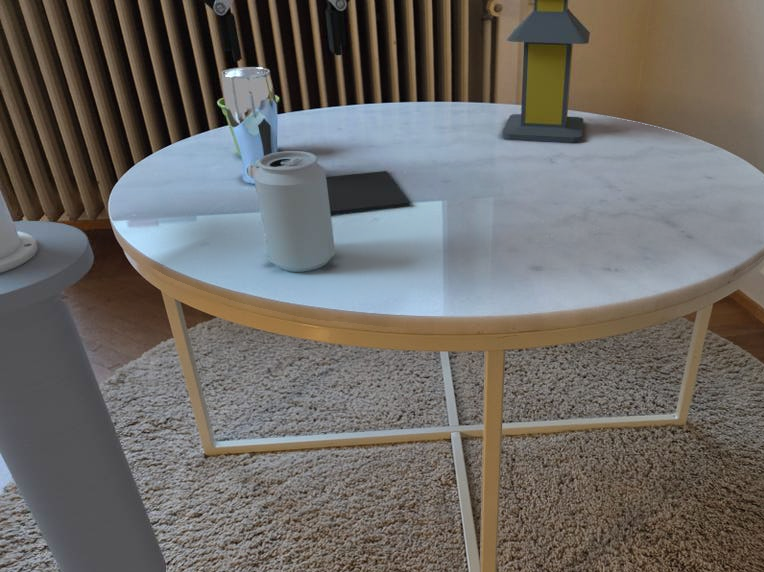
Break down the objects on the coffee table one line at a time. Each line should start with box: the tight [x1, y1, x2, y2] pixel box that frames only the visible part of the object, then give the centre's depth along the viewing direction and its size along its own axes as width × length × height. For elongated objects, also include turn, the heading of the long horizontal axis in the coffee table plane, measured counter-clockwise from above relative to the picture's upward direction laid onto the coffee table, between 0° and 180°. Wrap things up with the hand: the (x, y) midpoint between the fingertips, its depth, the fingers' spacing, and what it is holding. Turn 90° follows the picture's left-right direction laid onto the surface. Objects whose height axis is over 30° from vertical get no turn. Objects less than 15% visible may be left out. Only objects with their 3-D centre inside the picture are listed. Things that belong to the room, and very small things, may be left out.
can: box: [254, 150, 336, 273], centre depth 75 cm, size 8×8×12 cm
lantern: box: [501, 0, 591, 144], centre depth 117 cm, size 14×14×30 cm
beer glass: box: [220, 66, 279, 185], centre depth 98 cm, size 7×7×15 cm
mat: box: [326, 170, 410, 216], centre depth 96 cm, size 14×14×1 cm
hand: (287, 55), depth 68 cm, fingers open, 9 cm apart
